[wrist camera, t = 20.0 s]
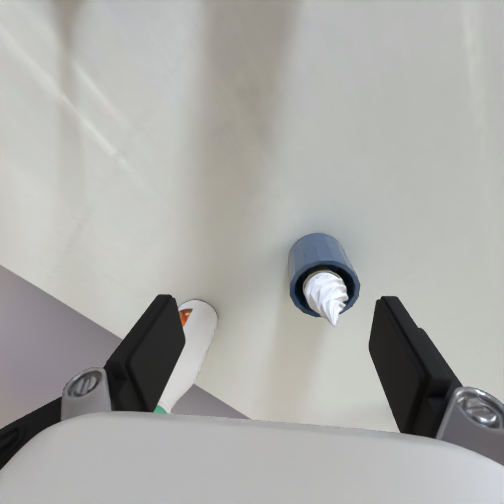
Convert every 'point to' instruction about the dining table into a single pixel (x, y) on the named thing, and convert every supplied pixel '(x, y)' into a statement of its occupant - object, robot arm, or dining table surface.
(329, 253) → the tumbler
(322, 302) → the ice cream cone
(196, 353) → the milk bottle
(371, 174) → the dining table surface
